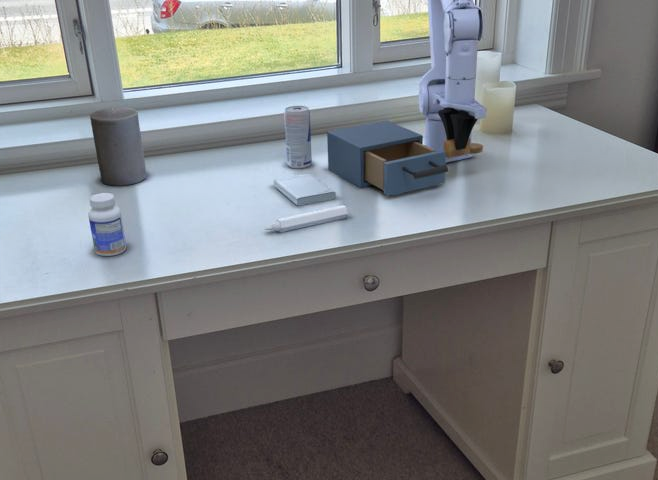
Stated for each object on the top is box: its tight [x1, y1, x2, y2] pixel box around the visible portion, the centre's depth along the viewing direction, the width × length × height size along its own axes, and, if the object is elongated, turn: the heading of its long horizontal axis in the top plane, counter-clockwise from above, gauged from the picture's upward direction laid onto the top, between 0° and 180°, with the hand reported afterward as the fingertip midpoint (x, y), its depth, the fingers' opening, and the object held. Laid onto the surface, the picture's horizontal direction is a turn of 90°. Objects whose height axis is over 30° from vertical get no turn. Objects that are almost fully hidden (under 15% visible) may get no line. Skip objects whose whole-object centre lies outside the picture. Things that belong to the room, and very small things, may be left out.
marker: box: [264, 204, 349, 233], centre depth 149 cm, size 3×2×16 cm
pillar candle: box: [89, 106, 148, 187], centre depth 171 cm, size 10×10×15 cm
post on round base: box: [444, 138, 484, 158], centre depth 165 cm, size 9×3×3 cm, turn 118°
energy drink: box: [283, 105, 313, 169], centre depth 176 cm, size 5×5×12 cm
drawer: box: [364, 141, 449, 197], centre depth 162 cm, size 18×13×6 cm
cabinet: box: [326, 120, 424, 189], centre depth 171 cm, size 14×15×8 cm
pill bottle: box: [87, 192, 127, 257], centre depth 140 cm, size 5×5×10 cm
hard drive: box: [273, 173, 337, 206], centre depth 163 cm, size 2×8×12 cm
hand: (457, 147), depth 164 cm, fingers closed on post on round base, 2 cm apart
